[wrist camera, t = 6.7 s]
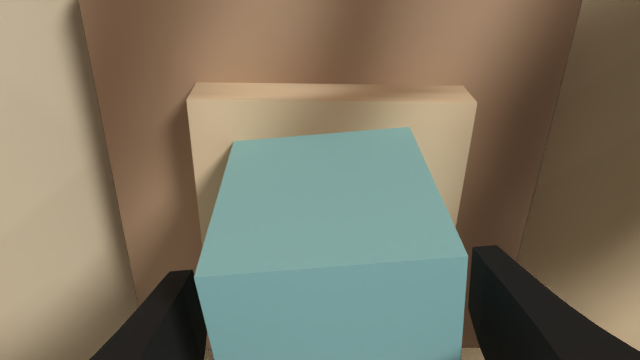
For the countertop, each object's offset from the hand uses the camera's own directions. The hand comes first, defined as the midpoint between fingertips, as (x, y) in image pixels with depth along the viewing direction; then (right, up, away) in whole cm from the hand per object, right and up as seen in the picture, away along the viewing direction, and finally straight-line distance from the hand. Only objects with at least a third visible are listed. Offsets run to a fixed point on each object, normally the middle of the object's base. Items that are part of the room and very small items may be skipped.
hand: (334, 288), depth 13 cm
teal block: (0, +2, +2) cm, 3 cm away
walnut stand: (0, +3, +5) cm, 6 cm away
